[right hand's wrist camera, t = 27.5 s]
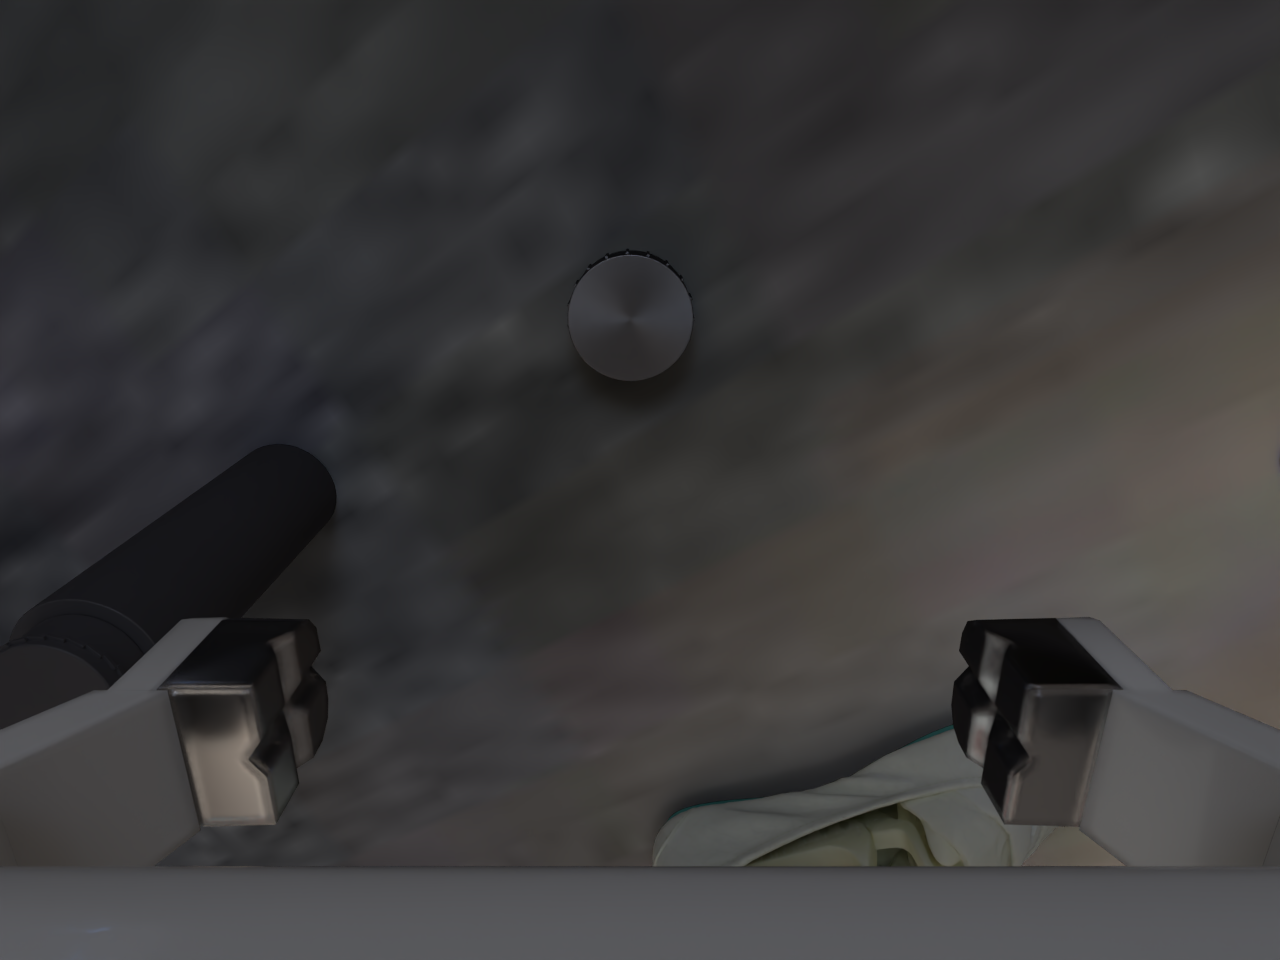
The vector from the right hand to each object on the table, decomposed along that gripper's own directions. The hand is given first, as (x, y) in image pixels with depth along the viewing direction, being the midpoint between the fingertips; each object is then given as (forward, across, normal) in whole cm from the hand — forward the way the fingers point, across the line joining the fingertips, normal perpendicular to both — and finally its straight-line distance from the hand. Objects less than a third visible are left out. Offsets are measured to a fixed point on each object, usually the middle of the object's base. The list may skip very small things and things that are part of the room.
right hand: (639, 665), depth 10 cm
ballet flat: (+28, -12, +27) cm, 41 cm away
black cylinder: (+28, +17, +8) cm, 34 cm away
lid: (+26, 0, 0) cm, 26 cm away
